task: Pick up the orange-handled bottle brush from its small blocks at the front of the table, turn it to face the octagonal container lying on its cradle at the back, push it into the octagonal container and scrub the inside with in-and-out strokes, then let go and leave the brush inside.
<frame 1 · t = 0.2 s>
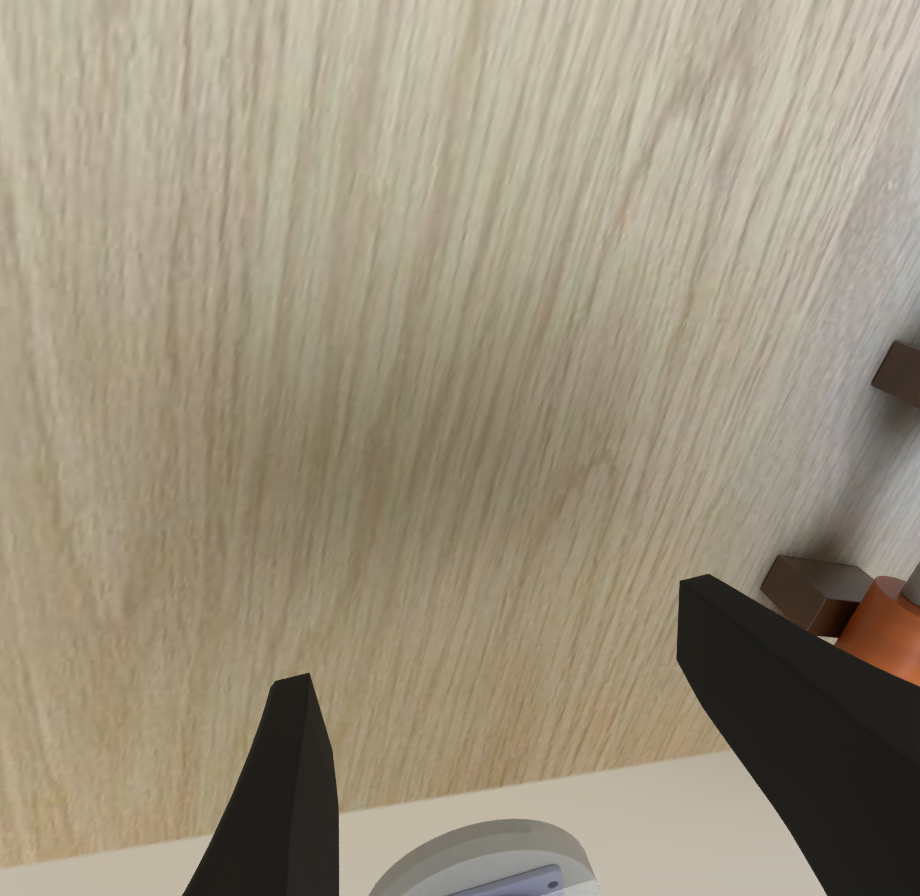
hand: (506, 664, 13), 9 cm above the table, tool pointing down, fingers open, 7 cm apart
small blocks: (874, 464, 25), on the table
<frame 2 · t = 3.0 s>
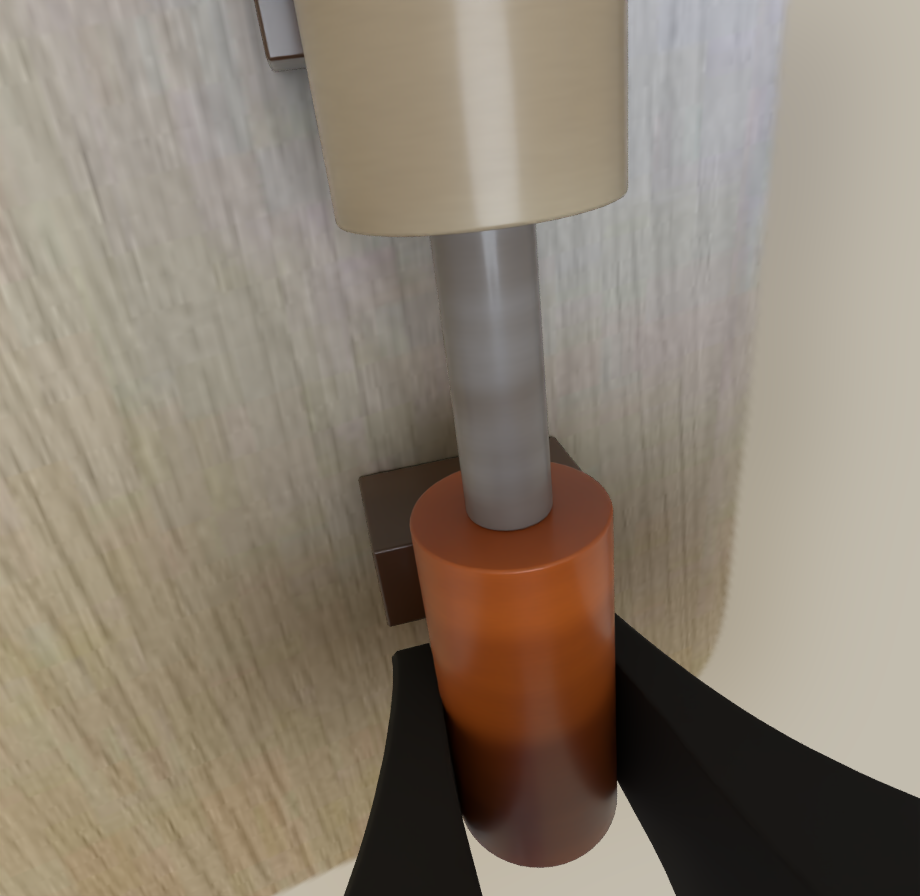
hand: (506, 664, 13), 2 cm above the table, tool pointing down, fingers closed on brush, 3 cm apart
small blocks: (429, 238, 12), on the table
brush: (488, 294, 8), point 4 cm above the table, touching small blocks, gripper
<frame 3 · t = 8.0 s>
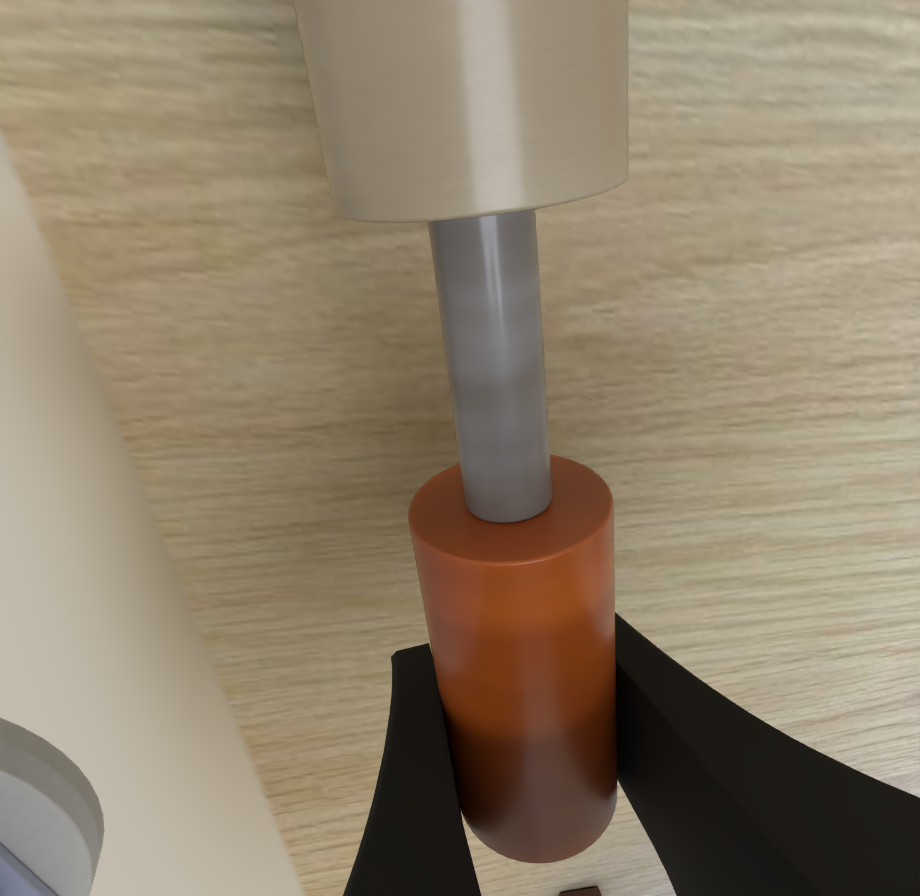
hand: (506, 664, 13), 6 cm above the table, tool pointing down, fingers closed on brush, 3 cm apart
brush: (487, 283, 8), point 7 cm above the table, touching gripper
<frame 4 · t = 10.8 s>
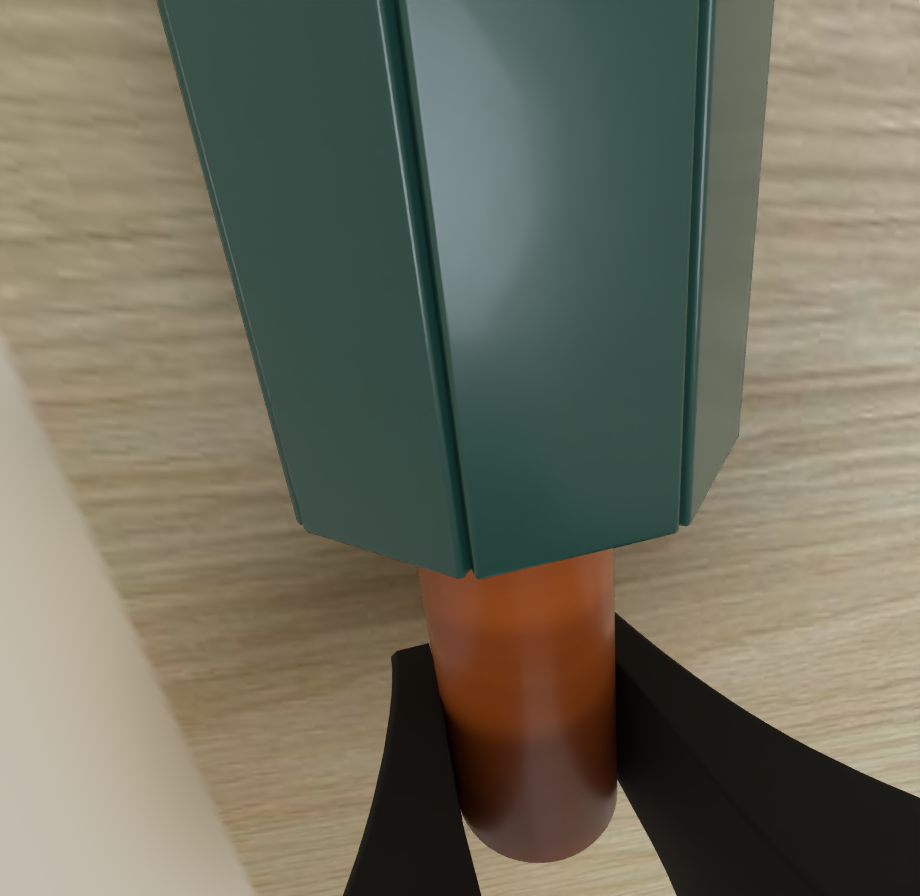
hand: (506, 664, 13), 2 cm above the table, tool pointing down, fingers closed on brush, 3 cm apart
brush: (487, 283, 8), point 4 cm above the table, touching gripper
octagonal container: (401, 29, 10), on the table
when the fingers open (2 cm above the table, at t = 13.0 s): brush stays where it is, resting on octagonal container.
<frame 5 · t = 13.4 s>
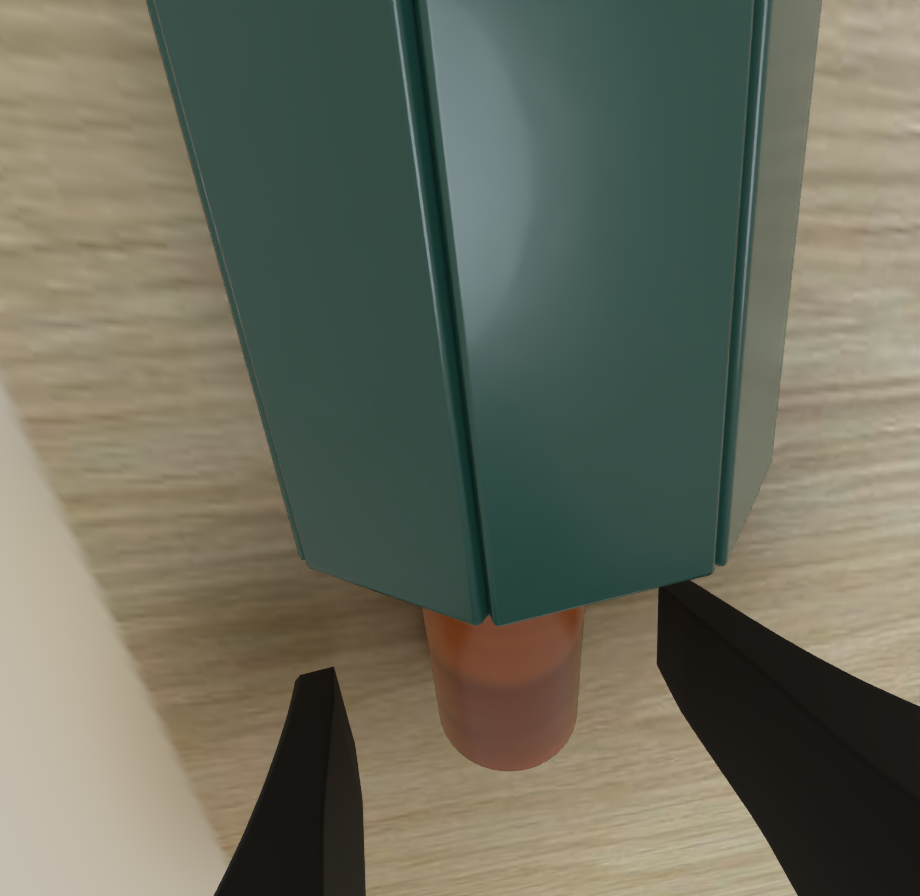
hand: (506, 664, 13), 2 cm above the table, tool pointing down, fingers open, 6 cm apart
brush: (490, 302, 8), point 3 cm above the table, tilted 12°, touching octagonal container
octagonal container: (408, 27, 10), on the table
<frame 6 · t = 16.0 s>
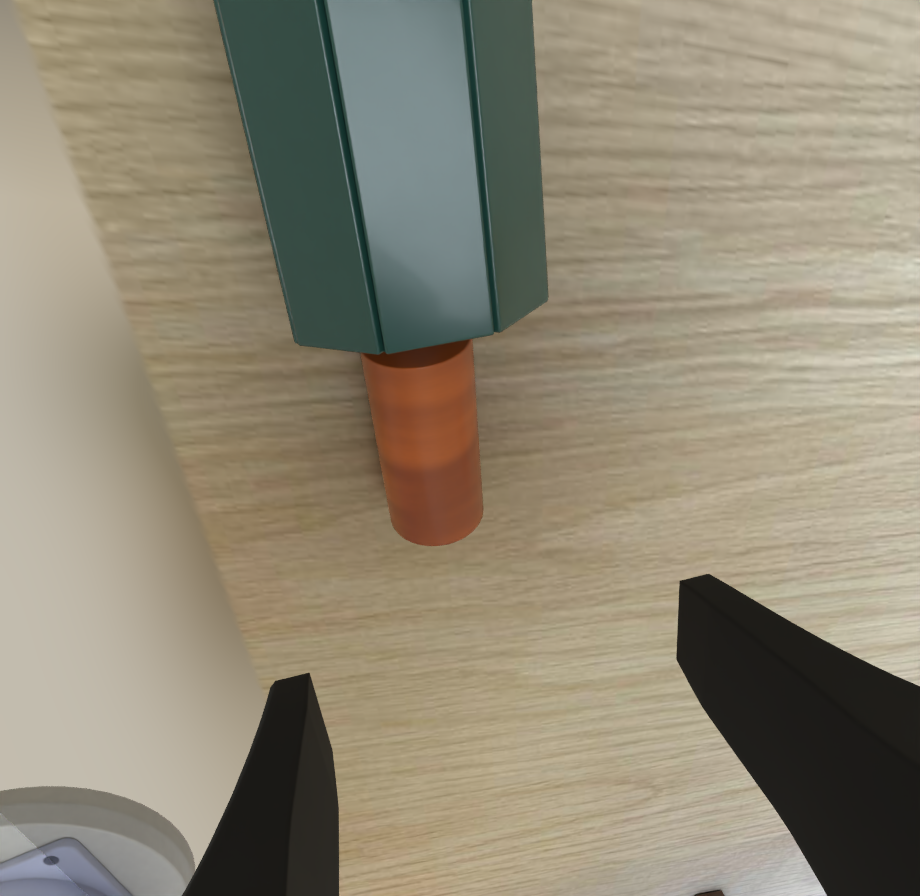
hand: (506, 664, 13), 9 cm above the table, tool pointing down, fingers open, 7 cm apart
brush: (400, 217, 15), point 3 cm above the table, tilted 12°, touching octagonal container
octagonal container: (359, 62, 16), on the table
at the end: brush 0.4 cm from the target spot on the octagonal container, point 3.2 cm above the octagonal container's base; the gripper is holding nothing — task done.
